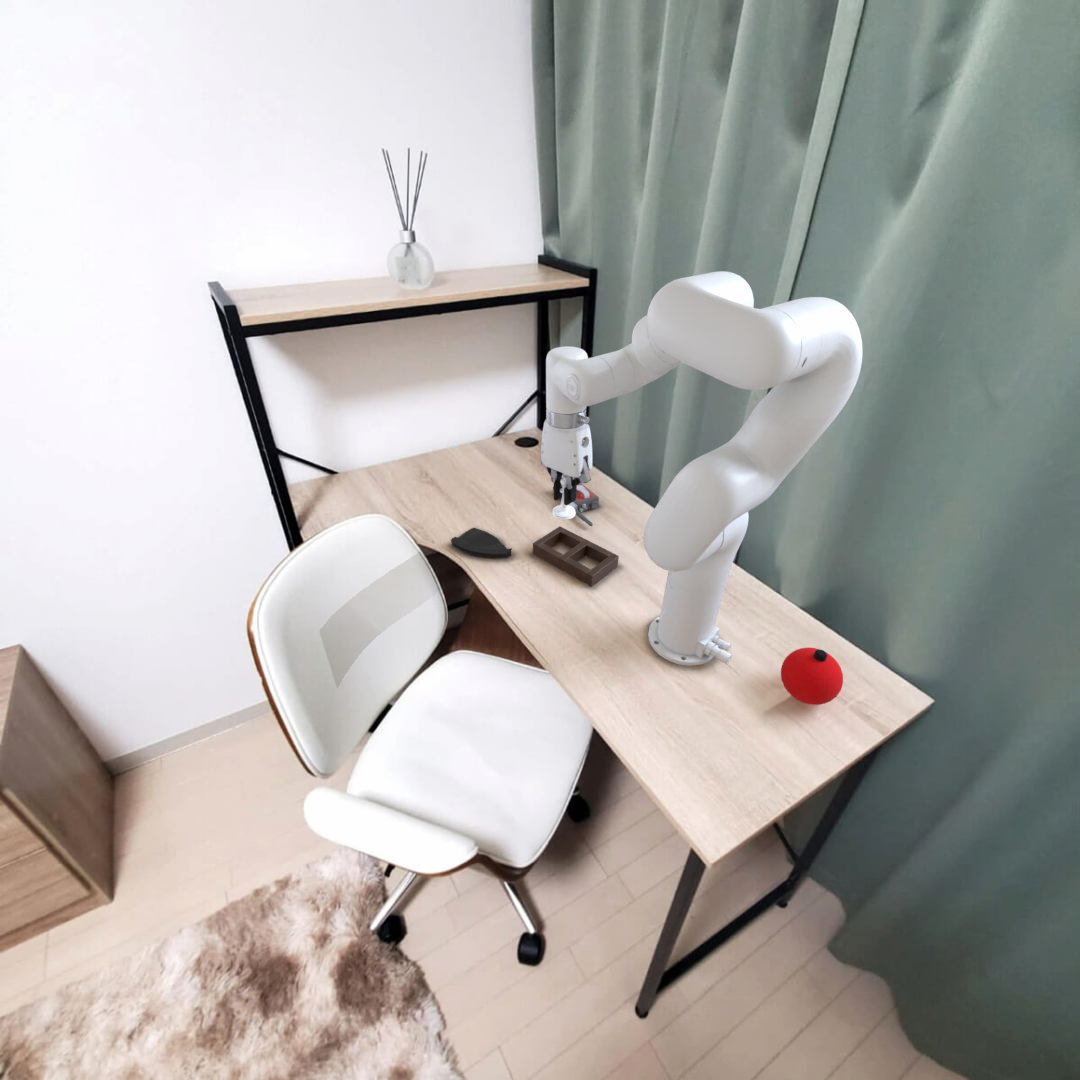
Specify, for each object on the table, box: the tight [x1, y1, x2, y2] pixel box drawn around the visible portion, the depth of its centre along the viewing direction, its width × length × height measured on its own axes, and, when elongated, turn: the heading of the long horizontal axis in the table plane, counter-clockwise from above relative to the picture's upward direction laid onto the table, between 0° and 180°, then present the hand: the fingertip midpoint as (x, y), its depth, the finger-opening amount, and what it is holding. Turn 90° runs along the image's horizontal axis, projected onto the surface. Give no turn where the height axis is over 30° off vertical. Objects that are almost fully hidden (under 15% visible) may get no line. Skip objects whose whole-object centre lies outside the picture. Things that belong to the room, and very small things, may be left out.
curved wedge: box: [450, 527, 513, 559], centre depth 120 cm, size 8×14×2 cm, turn 52°
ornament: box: [780, 647, 844, 706], centre depth 85 cm, size 9×9×10 cm
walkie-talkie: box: [552, 483, 600, 527], centre depth 134 cm, size 9×4×20 cm
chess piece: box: [552, 474, 577, 521], centre depth 110 cm, size 5×5×10 cm
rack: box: [532, 526, 619, 588], centre depth 117 cm, size 17×9×3 cm, turn 47°
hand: (564, 499), depth 111 cm, fingers closed on chess piece
